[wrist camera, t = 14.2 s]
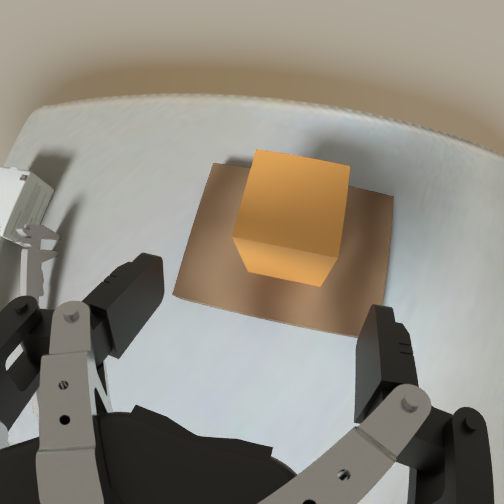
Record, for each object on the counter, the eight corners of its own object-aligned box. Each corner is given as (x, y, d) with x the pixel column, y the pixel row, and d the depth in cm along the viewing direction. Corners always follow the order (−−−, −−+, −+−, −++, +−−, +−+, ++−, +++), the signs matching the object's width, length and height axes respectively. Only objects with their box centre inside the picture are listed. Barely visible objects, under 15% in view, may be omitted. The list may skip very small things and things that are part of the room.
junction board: (387, 206, 27) (393, 196, 25) (369, 340, 24) (376, 339, 22) (217, 174, 29) (213, 162, 27) (180, 298, 26) (172, 294, 24)
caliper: (55, 236, 30) (18, 215, 24) (62, 236, 30) (25, 214, 24) (42, 422, 24) (2, 429, 18) (49, 424, 24) (9, 433, 18)
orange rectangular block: (332, 218, 25) (350, 166, 17) (320, 286, 23) (338, 258, 16) (264, 205, 26) (256, 149, 18) (248, 271, 24) (231, 236, 17)
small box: (-1, 236, 31) (-28, 223, 26) (22, 182, 33) (-1, 164, 28) (31, 251, 30) (1, 237, 25) (57, 189, 32) (31, 169, 27)
